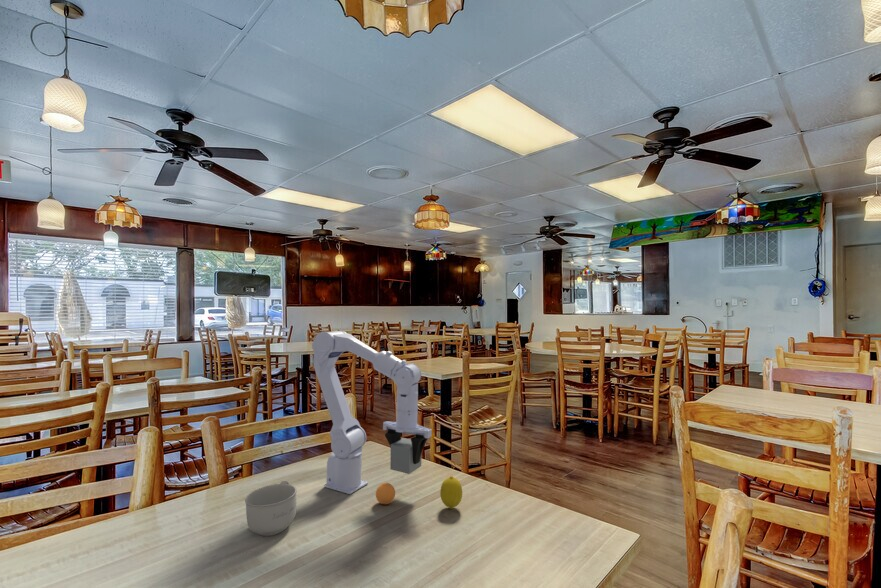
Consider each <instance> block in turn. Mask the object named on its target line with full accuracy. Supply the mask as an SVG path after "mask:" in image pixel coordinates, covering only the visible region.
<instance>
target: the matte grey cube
mask: <svg viewBox="0 0 881 588" xmlns="http://www.w3.org/2000/svg"><path fill="white" fill-rule="evenodd" d="M389 466H390V468H389V469H390V470H392V471H394V472H395V471H396V472H399V473H403V474H407V475H410V474H412V473H413V472H415V471H416V470H418V469H419V468H421V467H422V456H421V457H420V462H419V463H417V464H414V463H413V447H412V442H411V438H405V437H401V439H400V440H398V441H396V442H394V443H393V444H391V448H390V465H389Z"/></svg>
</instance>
